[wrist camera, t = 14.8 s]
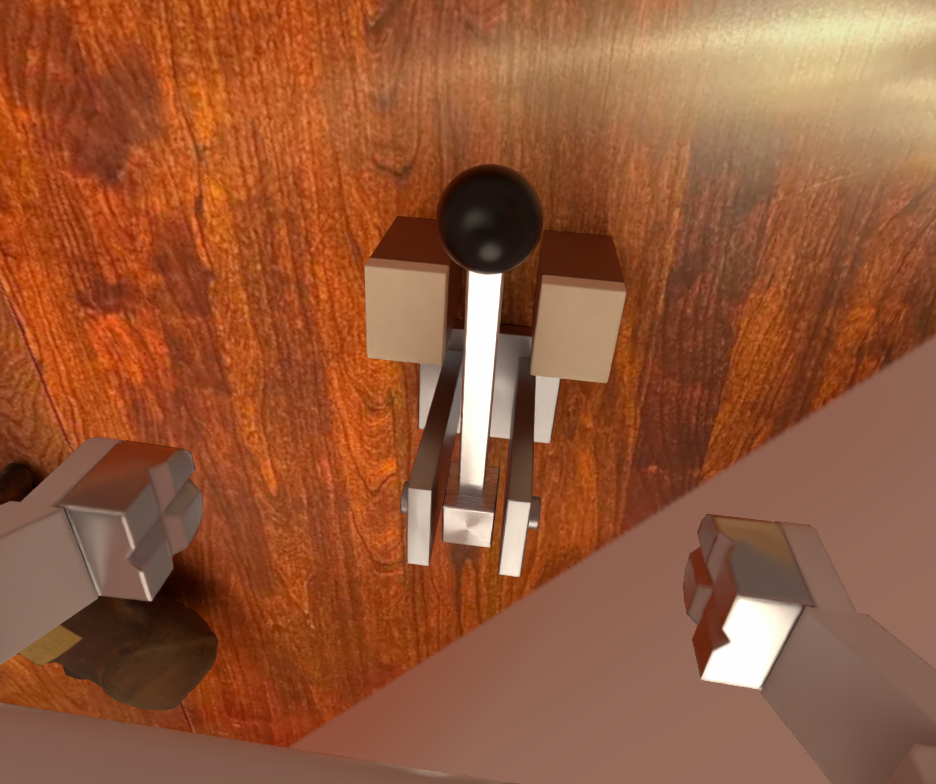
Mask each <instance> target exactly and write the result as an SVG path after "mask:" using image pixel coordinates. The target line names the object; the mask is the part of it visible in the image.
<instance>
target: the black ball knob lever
mask: <svg viewBox="0 0 936 784" xmlns="http://www.w3.org/2000/svg"><path fill="white" fill-rule="evenodd" d="M436 226H437V232H438V236H439V239H440V242H441V244H442V246H443V248H444V250H445V251H446V253H447V254H448V255H449V257H450V258H451V259H452V260H453V261H454V262H456V263H457V264H458V265H459V266H461V267H463V268H464V269H466V270H467V273H466V298H465V323H464V348H463V373H462V398H461V423H460V448H459V463H456V462H451V463H450V465H449V471H448V476H447V482H446V488H445V494H444V499H443V505H442V541H443V542H448V543H457V544H465V545H473V546H481V547H491V545H492V536H493V528H494V519H495V510H496V501H497V491H498V481H499V472H500V469H499V468H498V467H491V466H487V460H488V449H489V438H490V428H491V417H492V406H493V395H494V384H495V373H496V362H497V351H498V340H499V330H500V319H501V308H502V297H503V286H504V275H505V272H508V271H510V270H512V269H514V268H516V267H518V266H519V265H520V264H522V263H523V262H524V261H525V260H526V259H527V258H528V257H529V256H530V255H531V254H532V252H533V251H534V249H535V248H536V246H537V244H538V242H539V239H540V236H541V232H542V228H543V210H542V205H541V202H540V199H539V196H538V194H537V192H536V190H535V189H534V187H533V186H532V185H531V183H530V182H529V181H528V180H527V179H526V178H525V177H524V176H523V175H521V174H520V173H519V172H517V171H515V170H513V169H511V168H509V167H506V166H502V165H496V164H483V165H478V166H474V167H471V168H469V169H467V170H465V171H463V172H462V173H460V174H459V175H457V176H456V177H455V178H454V179H453V180H452V181H451V182H450V183H449V185H448V186H447V187H446V188H445V190H444V192H443V194H442V196H441V198H440V201H439V203H438V208H437V213H436Z"/></svg>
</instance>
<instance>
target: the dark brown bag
mask: <svg viewBox="0 0 936 784" xmlns="http://www.w3.org/2000/svg"><path fill="white" fill-rule="evenodd" d="M33 479H34V478H33V476H32V474H31V472H30V471H29V470H28V469H27V468H26V467H23V466H21V465H19V464H17V463H11V464H8V465H7V466H5V467H4V468H3V469H2V470H1V471H0V505H2V504H5V503H7V502H9V501H15V502H21V501H22V500H23V499H24V498H25V497H26V496H27V495H28V494H30V493H31V492H32V489H33V486H32V484H33ZM97 596H98V595H97ZM217 646H218V640H217V637H216V635H215V634H214V633H213V632H212V631H211V629H210V627H209V626H208V624H207V623H206V622H205V621H204V620H203V619H202V618H201V617H200V616H199V615H198V614H197V613H196V612H194V611H193V610H192V609H190V608H188V607H187V606H185V605H183V604H181V603H180V602H178V601H176V600H174V599H172V598H170V597H169V596H167V595H165V594H164V593H162V592H160V591H158V593H157V594H156V596H155V597H154V599H153V600H152V601H143V600H134V599H125V598H116V597H107V596H98V599H96V600H95V601H94V602H92V603H91V604H89V605H88V606H86V607H85V608H83V609H82V610H80V611H79V612H77V613H76V614H74V615H73V616H72V617H70V618H69V619H67V620H66V621H64V622H63V623H61V624H60V625H58V626H57V627H55V628H54V629H53V630H51V631H50V632H48V633H47V634H45V635H44V636H42V637H41V638H39V639H38V640H36V641H35V642H34V643H32V644H31V645H29V646H28V647H26V648H25V649H23V650H22V651H20V652H19V653H17V654H19V655H22V656H24V657H26V658H28V659H29V660H31V661H32V662H33V663H34V664H36V665H42V664H46V663H52V662H57V663H60V664H62V665H63V669H64V672H65V674H66V675H67V676H70V677H73V678H75V679H89V680H91V681H93V682H94V683H96V684H98V685H99V686H100V687H102V688H103V690H104V691H105V692H106V694H107V695H109V696H110V697H112V698H113V699H115V700H116V701H118V702H121V703H124V704H127V705H131V706H135V707H138V708H143V709H151V710H169V709H173V708H176V707H177V706H178V705H179V704H180V703H181V702H182V700H183V699H184V698H185V697H186V696H187V695H188V693H189V692H190V691H191V690H192V689H194V688H195V687H196V686H197V685H198V684H199V683H200V682H201V681H202V679H203V677H204V676H205V675H206V674H207V673H208V671H209V670H210V669H211V667H212V665H213V663H214V661H215V660H216V654H217Z"/></svg>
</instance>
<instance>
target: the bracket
mask: <svg viewBox="0 0 936 784" xmlns="http://www.w3.org/2000/svg"><path fill="white" fill-rule="evenodd" d="M464 323H465V320H455V322H454V326H453V329H452V333H451V336H450V340H449V343H448V347H447V350H446V354H445V357H444V361H443V364H442V365H441V366H440V365H430V364H421V363H419V408H418V428H419V429H424V431H423V434H422V438H421V441H420V445H419V448H418V452H417V456H416V459H415V463H414V466H413V470H412V473H411V477H410V480H409V481H406V482H405V483H404V485H403V489H402V495H401V504H400V509H401V513H406V514H407V563H409V564H417V565H425V566H429V563H430V559H431V554H432V549H433V544H434V539H435V534H436V530H437V525H438V520H439V515H440V510H441V505H442V501H443V496H444V491H445V486H446V481H447V476H448V471H449V465H450V462H451V457H452V452H453V447H454V443H455V438H456V433H460V423H461V398H462V373H463V348H464ZM531 342H532V327H523V326H513V325H504V324H500V330H499V340H498V351H497V362H496V373H495V384H494V395H493V406H492V417H491V428H490V437H496V438H505V439H509V448H508V460H507V472H506V483H505V495H504V507H503V518H502V530H501V541H500V553H499V565H498V574H500V575H507V576H515V577H520V576H521V571H522V565H523V558H524V552H525V545H526V539H527V532H528V528H530V529H537V528H538V524H539V517H540V505H541V499H540V497H537V496H532V490H533V458H534V442H541V443H550V442H551V437H552V431H553V425H554V419H555V412H556V406H557V400H558V394H559V388H560V382H561V378H553V377H543V376H534V375H531V374H530V364H531Z"/></svg>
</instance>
